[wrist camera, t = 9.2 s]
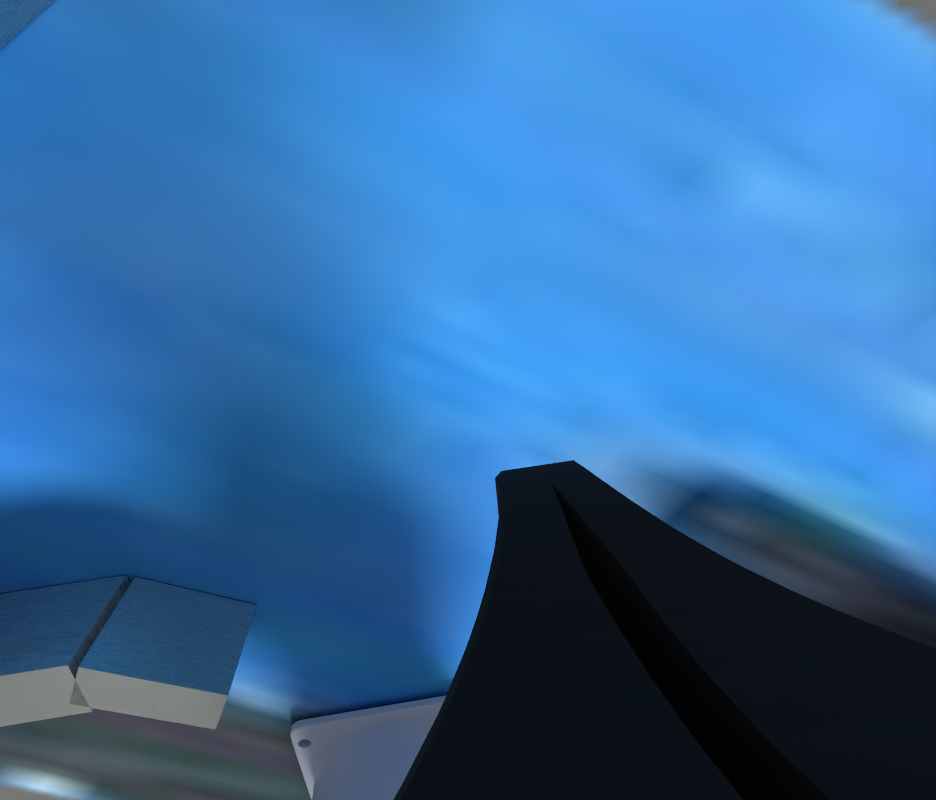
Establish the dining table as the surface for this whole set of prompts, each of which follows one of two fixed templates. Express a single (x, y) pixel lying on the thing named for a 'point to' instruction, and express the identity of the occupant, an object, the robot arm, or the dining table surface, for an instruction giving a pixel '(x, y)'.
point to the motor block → (115, 625)
